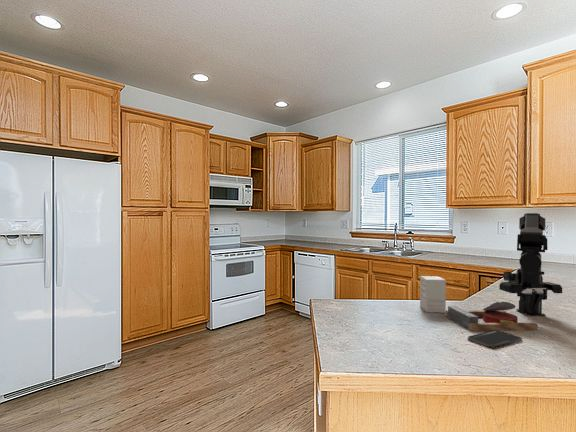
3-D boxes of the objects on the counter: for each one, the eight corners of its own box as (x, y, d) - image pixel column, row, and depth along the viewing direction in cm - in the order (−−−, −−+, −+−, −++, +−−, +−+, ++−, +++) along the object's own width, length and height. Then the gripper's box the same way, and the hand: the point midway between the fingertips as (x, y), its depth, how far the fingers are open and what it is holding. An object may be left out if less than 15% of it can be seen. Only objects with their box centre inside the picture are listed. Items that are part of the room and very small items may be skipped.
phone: (466, 337, 93) (496, 329, 100) (465, 340, 93) (496, 333, 100) (493, 347, 86) (524, 338, 93) (493, 351, 86) (524, 341, 93)
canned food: (487, 337, 107) (471, 309, 110) (493, 327, 115) (478, 301, 117) (524, 330, 100) (506, 300, 103) (528, 319, 107) (511, 292, 110)
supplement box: (438, 307, 126) (439, 276, 126) (446, 313, 119) (446, 279, 119) (419, 306, 127) (419, 275, 127) (425, 312, 119) (426, 279, 119)
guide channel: (502, 315, 117) (502, 310, 117) (537, 330, 102) (537, 324, 102) (445, 315, 115) (445, 310, 115) (472, 330, 100) (472, 324, 100)
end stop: (455, 317, 114) (456, 306, 114) (477, 329, 102) (478, 316, 102) (447, 317, 114) (448, 306, 114) (469, 329, 102) (469, 316, 102)
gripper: (536, 264, 118) (535, 305, 118) (488, 263, 117) (488, 305, 117) (564, 269, 107) (563, 314, 107) (511, 268, 106) (511, 315, 106)
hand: (529, 312), depth 109 cm, fingers closed
